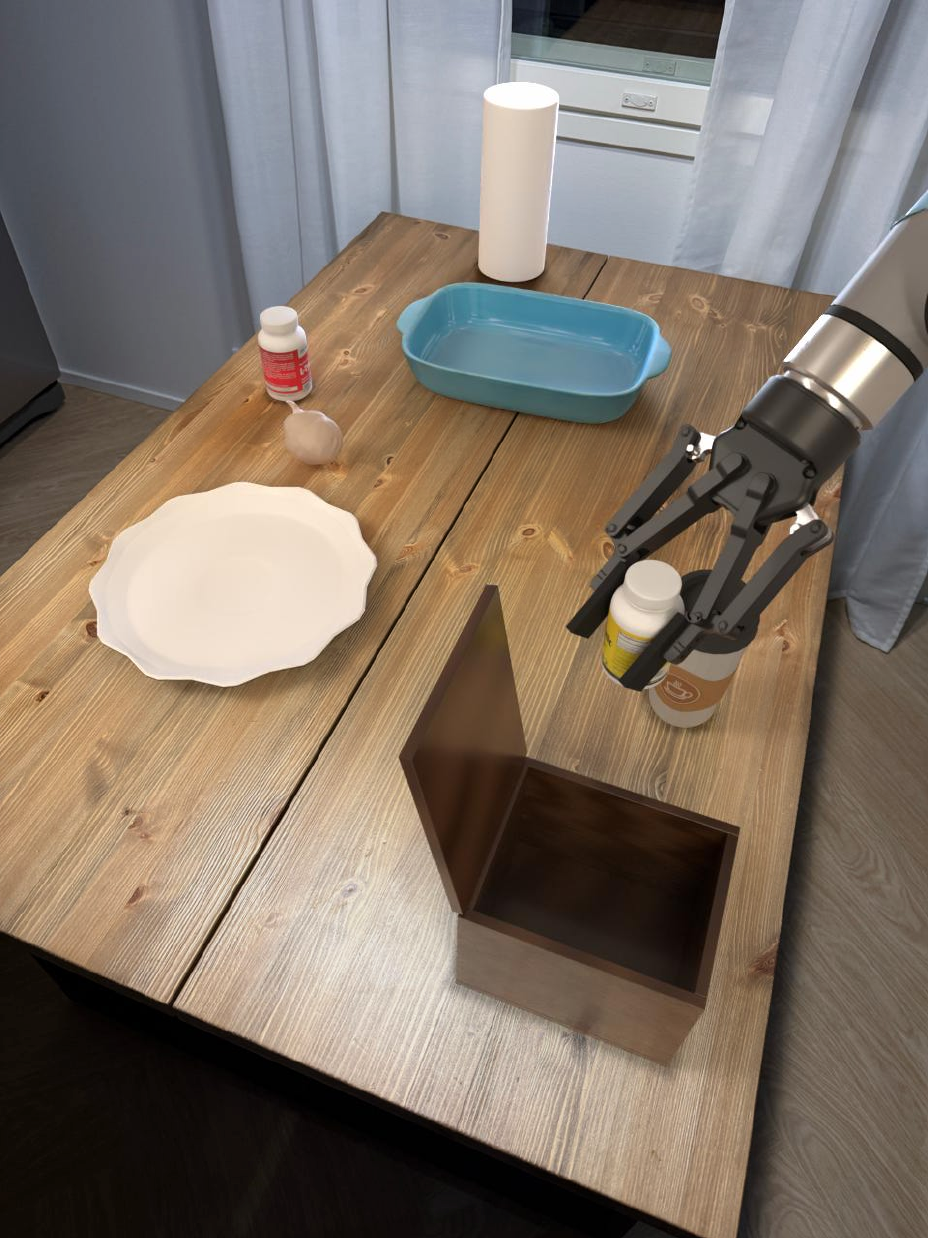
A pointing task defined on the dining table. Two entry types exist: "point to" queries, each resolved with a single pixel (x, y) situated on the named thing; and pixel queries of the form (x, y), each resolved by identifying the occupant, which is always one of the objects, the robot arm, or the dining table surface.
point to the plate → (232, 584)
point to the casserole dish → (532, 351)
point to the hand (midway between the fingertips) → (603, 658)
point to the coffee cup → (699, 667)
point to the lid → (467, 750)
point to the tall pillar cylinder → (516, 179)
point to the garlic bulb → (311, 436)
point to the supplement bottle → (640, 616)
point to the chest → (599, 910)
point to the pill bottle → (284, 354)
